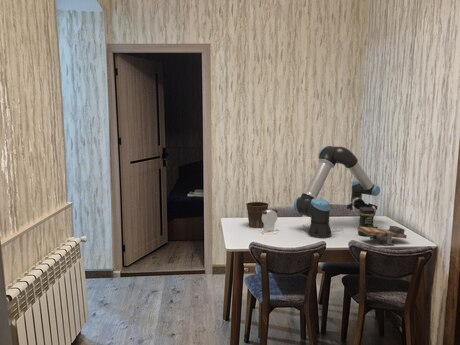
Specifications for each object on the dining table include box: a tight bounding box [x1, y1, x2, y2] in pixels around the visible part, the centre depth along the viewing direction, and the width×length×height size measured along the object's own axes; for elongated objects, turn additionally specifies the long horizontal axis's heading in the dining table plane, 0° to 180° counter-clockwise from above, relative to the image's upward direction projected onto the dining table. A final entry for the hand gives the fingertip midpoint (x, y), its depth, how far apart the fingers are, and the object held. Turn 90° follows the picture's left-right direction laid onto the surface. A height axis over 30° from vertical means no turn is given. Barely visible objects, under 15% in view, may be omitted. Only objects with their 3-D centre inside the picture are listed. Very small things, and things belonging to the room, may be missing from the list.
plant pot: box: [245, 201, 269, 229], centre depth 276 cm, size 16×16×16 cm
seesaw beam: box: [357, 225, 408, 239], centre depth 238 cm, size 26×12×5 cm, turn 101°
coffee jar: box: [357, 207, 376, 237], centre depth 253 cm, size 10×8×19 cm
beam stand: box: [369, 226, 395, 247], centre depth 238 cm, size 6×16×8 cm, turn 12°
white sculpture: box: [260, 208, 279, 235], centre depth 261 cm, size 12×11×15 cm
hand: (364, 209), depth 262 cm, fingers open, 13 cm apart
